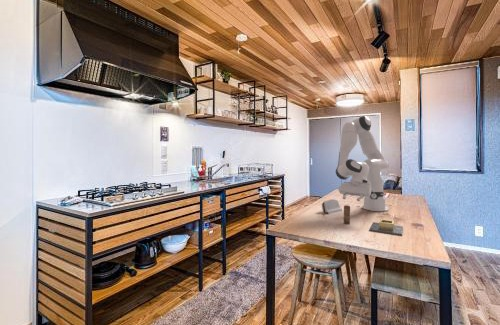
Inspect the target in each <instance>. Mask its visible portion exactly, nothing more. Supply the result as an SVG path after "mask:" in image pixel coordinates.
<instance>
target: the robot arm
mask: <svg viewBox="0 0 500 325" xmlns="http://www.w3.org/2000/svg"><path fill="white" fill-rule="evenodd" d="M371 128H372V121H371V119H370V118H369V117H368V116H366V115H362V116H359V117H358V118H356V119H353V120H352V121H349V122H345V123H344V124H343V125H342V129H341V134H340V135H341V139H340V148H339V152H338V153H339V154H338V162H337V166H336V169H335V175H336V176H337V177H338V179H340V180H347V179H348V178H350V176H351V177H352V178H351V179H350V181H349V182H348V181H344V182H342V183H341V184H340V186H339V188H338V193H340V195H342V199H343V200H346V199H347V197H346V195H347V196H354V197H355V196H357V197H356V198H357V199H356V201H357V202H361V200H362V199H363V205H361V206H360V208H361V209H364V210H367V211H372V212H388V211H389V208H388V207H387V203H386V202H387V201H386V199H385V195H384V193H385V192H384V180H383V179H382V176H381V173H384V172H385V171H387V170H388V169H389V168H390V167H389V166H390V163H389V161H388V160H387V159H385V157H384V156H383V154H382V153H381V151H380V149H379V147H378V144H377V141H376V138H375V137H374V136H375V135H374V134H373V131H372V130H371ZM357 143H359V145H360V148H361V151H362V154H363V155H364V156H365V157H366V158H367V159H366V160H363V161H362V162H361V161H360V162H359V161H357V160H355V159H352V158H350V159H349V155H350V153H351V152H352V151H353V149H354V148H355V147H356V145H357Z"/></svg>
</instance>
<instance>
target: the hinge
mask: <svg viewBox="0 0 500 325" xmlns="http://www.w3.org/2000/svg"><path fill="white" fill-rule="evenodd" d="M321 209H322V214H325V213H327V215H331V213H332V214H335V213H339V212H343V208H342V207H341V206H340V203H339V201H338V200H337V199H334V198H333V199H327V200H324V201H322V203H321Z"/></svg>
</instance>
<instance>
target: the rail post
mask: <svg viewBox="0 0 500 325" xmlns="http://www.w3.org/2000/svg"><path fill="white" fill-rule="evenodd" d="M350 223H351V206H350V205H345V204H344V206H343V224H345V225H350Z"/></svg>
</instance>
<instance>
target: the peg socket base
mask: <svg viewBox="0 0 500 325" xmlns="http://www.w3.org/2000/svg"><path fill="white" fill-rule="evenodd" d="M403 229H404V226H403V225H397V224H395V221H394V220H390V219H389V220H388V219H379V222H376V221H375V222H372V224H371V225H370V228H369V232H373V233H381V234H389V235H394V236H399V237H400V236H401V237H402V236H403V231H404V230H403Z"/></svg>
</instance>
